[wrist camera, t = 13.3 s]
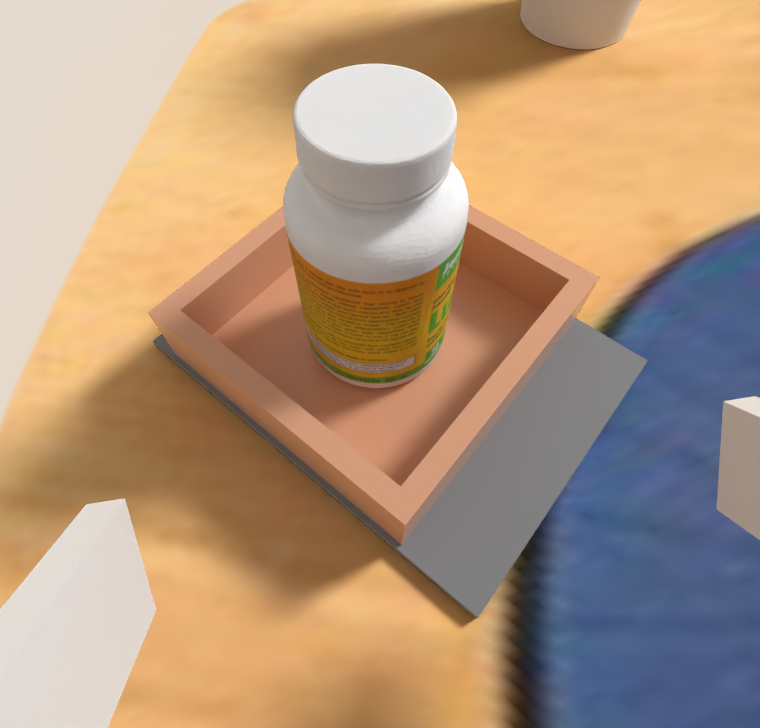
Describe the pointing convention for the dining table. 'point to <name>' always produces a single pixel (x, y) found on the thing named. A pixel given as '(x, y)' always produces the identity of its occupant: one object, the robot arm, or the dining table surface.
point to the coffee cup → (578, 21)
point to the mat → (502, 465)
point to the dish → (377, 405)
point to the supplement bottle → (375, 220)
